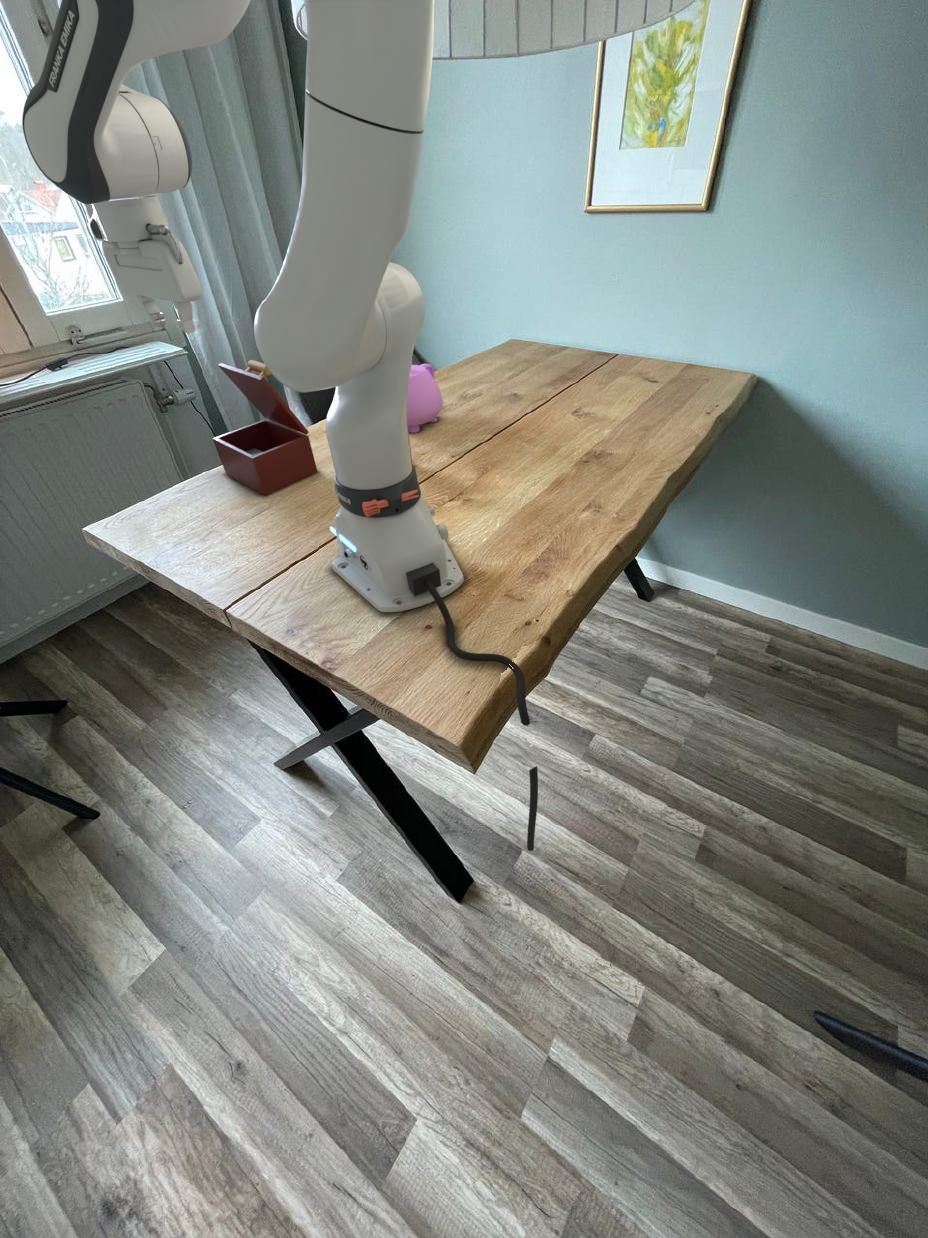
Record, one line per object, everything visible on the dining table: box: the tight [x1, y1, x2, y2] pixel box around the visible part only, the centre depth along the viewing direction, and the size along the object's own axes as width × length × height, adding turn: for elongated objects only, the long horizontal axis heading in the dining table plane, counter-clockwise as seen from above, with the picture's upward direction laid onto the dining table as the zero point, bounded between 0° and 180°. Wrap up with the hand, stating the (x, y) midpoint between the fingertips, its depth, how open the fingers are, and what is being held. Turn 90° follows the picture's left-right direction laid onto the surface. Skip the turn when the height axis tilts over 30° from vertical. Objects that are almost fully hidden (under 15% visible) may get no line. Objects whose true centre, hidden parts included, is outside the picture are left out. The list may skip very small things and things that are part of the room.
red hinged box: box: [212, 418, 319, 497], centre depth 107 cm, size 13×16×8 cm
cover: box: [217, 359, 310, 436], centre depth 102 cm, size 14×16×5 cm
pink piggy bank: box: [407, 361, 444, 433], centre depth 121 cm, size 22×16×14 cm
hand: (174, 328), depth 86 cm, fingers open, 8 cm apart
